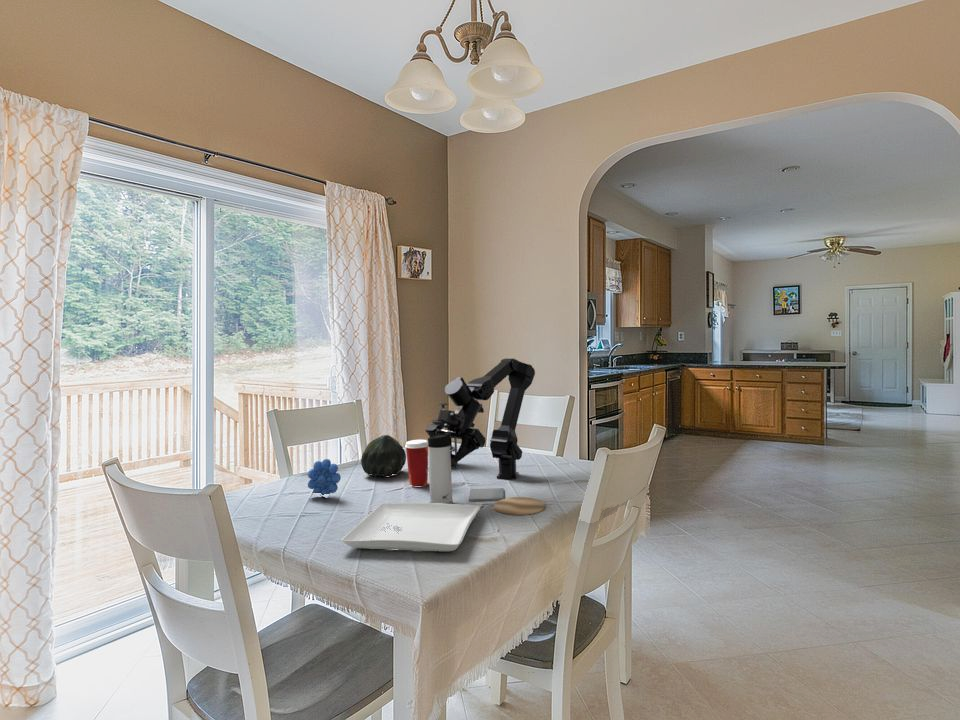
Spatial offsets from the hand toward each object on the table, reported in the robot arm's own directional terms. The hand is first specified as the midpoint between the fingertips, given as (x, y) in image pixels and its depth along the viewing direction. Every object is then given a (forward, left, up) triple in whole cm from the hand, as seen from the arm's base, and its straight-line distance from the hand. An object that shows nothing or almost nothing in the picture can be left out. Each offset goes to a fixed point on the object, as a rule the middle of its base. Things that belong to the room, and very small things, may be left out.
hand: (442, 460), depth 150 cm
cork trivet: (+1, +22, -12) cm, 25 cm away
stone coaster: (-8, +11, -12) cm, 18 cm away
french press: (-41, -11, -13) cm, 45 cm away
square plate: (+23, 0, -13) cm, 26 cm away
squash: (-28, -29, -13) cm, 43 cm away
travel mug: (+1, 0, -13) cm, 13 cm away
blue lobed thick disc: (-2, -37, -13) cm, 40 cm away
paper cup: (-17, -13, -13) cm, 25 cm away
